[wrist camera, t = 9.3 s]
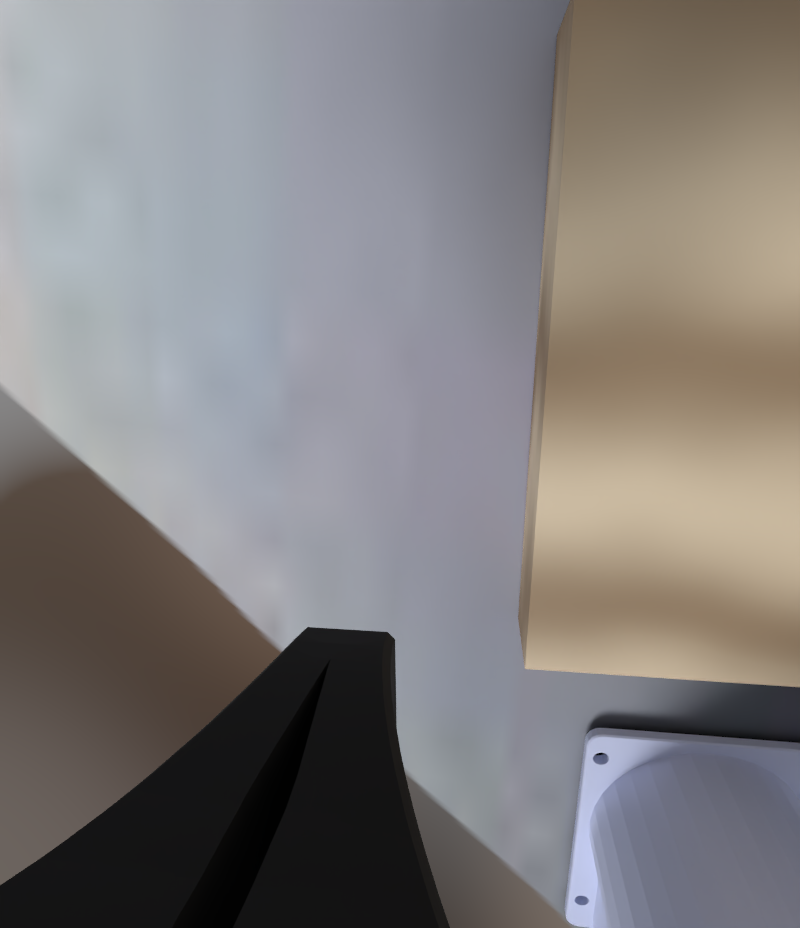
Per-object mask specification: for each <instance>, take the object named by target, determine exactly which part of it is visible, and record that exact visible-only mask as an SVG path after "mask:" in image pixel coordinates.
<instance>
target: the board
mask: <svg viewBox="0 0 800 928" xmlns="http://www.w3.org/2000/svg"><path fill="white" fill-rule="evenodd" d="M518 619H519V627H520V635H521V642H522V650H523V658H524V665H525V669H534V670H549V671H564V672H579V673H594V674H609V675H624V676H639V677H654V678H669V679H684V680H699V681H714V682H729V683H744V684H759V685H774V686H789V687H800V0H570V2H569V5H568V8H567V10H566V13H565V16H564V18H563V21H562V23H561V26H560V29H559V31H558V34H557V44H556V59H555V74H554V89H553V104H552V119H551V134H550V149H549V164H548V179H547V194H546V209H545V224H544V239H543V254H542V269H541V284H540V300H539V315H538V330H537V345H536V360H535V375H534V390H533V405H532V420H531V435H530V450H529V465H528V480H527V495H526V510H525V525H524V540H523V555H522V570H521V585H520V600H519V615H518Z"/></svg>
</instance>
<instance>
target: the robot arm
mask: <svg viewBox="0 0 800 928" xmlns="http://www.w3.org/2000/svg"><path fill="white" fill-rule="evenodd" d="M597 753H604V754H602V755H595V754H597ZM565 913H566V919H567V920H568V922H569V923H571V924H573V925H575V926H581V927H589V928H800V743H794V742H781V741H768V740H755V739H742V738H729V737H716V736H703V735H690V734H677V733H664V732H651V731H638V730H625V729H612V728H595V729H593V730H590V731H589V732H588V733H587V735H586V737H585V745H584V753H583V761H582V769H581V777H580V785H579V794H578V802H577V810H576V818H575V826H574V835H573V843H572V851H571V859H570V867H569V876H568V884H567V892H566V900H565ZM0 928H450V927H449V924H448V921H447V918H446V915H445V912H444V909H443V906H442V904H441V900H440V897H439V894H438V891H437V888H436V885H435V881H434V878H433V875H432V872H431V869H430V865H429V862H428V859H427V856H426V852H425V849H424V845H423V842H422V838H421V835H420V831H419V828H418V824H417V820H416V817H415V813H414V809H413V806H412V801H411V797H410V793H409V789H408V785H407V780H406V776H405V772H404V767H403V762H402V757H401V753H400V747H399V741H398V735H397V729H396V677H395V639H394V638H393V637H392V636H391V635H390V634H389V633H388V632H376V631H360V630H344V629H327V628H311V627H308V628H306V629H305V630H304V631H303V632H302V633H301V634H300V635H299V636H298V637H297V638H296V639H295V640H294V641H293V642H292V643H291V644H290V645H289V646H288V647H287V648H286V649H285V650H284V651H283V652H282V653H281V654H280V655H279V656H278V657H277V658H276V659H275V660H274V661H273V662H272V663H271V664H270V665H269V666H268V667H267V668H266V669H265V670H264V671H263V672H262V673H261V674H260V675H259V676H258V677H257V678H256V679H255V680H254V681H253V682H252V683H251V684H250V685H249V686H248V687H247V688H246V689H245V690H244V691H242V692H241V693H240V694H239V695H238V696H237V697H236V698H235V699H234V700H233V701H232V702H231V703H230V704H229V705H228V706H227V707H226V708H225V709H223V710H222V711H221V712H220V713H219V714H218V715H217V716H216V717H215V718H214V719H213V720H212V721H211V722H210V723H209V724H208V725H206V726H205V727H204V728H203V729H202V730H201V731H200V732H199V733H198V734H196V736H194V737H193V738H192V739H191V740H190V741H188V742H187V743H186V744H185V745H184V746H183V747H181V748H180V749H179V750H178V751H177V752H176V753H175V754H174V755H172V756H171V757H170V758H169V759H168V760H166V761H165V762H164V763H163V764H162V765H161V766H160V767H159V768H157V769H156V770H155V771H154V772H153V773H152V774H150V775H149V776H148V777H147V778H146V779H144V780H143V781H142V782H141V783H139V784H138V785H137V786H136V787H135V788H133V789H132V790H131V791H130V792H128V793H127V794H126V795H125V796H123V797H122V798H121V799H120V800H118V801H117V802H116V803H115V804H113V805H112V806H111V807H109V808H108V809H107V810H106V811H104V812H103V813H102V814H100V815H99V816H98V817H96V818H95V819H94V820H92V821H91V822H90V823H88V824H87V825H86V826H84V827H83V828H82V829H80V830H79V831H78V832H76V833H75V834H74V835H72V836H71V837H70V838H69V839H67V840H66V841H64V842H63V843H61V844H60V845H59V846H57V847H56V848H54V849H53V850H52V851H50V852H49V853H47V854H46V855H45V856H43V857H42V858H41V859H39V860H37V861H36V862H34V863H33V864H31V865H30V866H28V867H27V868H25V869H24V870H23V871H21V872H19V873H18V874H16V875H15V876H14V877H12V878H11V879H9V880H8V881H6V882H5V883H3V884H2V885H0Z"/></svg>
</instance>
